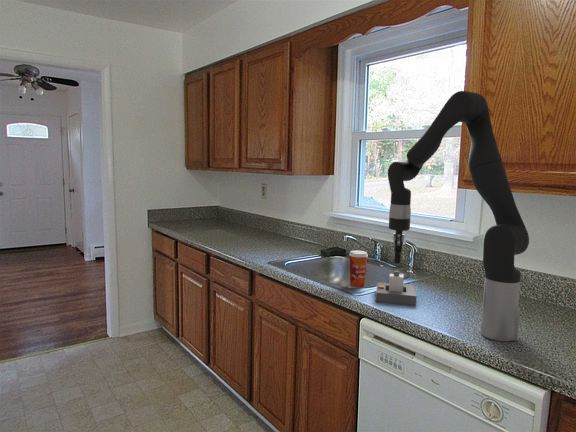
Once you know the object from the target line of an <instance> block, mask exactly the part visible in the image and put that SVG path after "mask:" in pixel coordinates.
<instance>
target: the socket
mask: <svg viewBox="0 0 576 432" xmlns="http://www.w3.org/2000/svg"><path fill="white" fill-rule="evenodd" d="M375 292H376V293H375V302H376V301H378V302H377V303H382V302H385V303H384V304H393V303H395V304H394V305H396V304H397V305H406V306H415V307H416V306H417V292H416V286H415V285H414V284H405V283H403V292H396V291H389V282H379V281H377V283H376V291H375Z"/></svg>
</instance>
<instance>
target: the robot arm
mask: <svg viewBox="0 0 576 432" xmlns="http://www.w3.org/2000/svg"><path fill="white" fill-rule="evenodd" d="M459 123H464V124H465V126H466V129H467V132H468V134H469V138H470V149H469V154H468V162H467V163H468V171H469V174H470V176H471V179H472V182H473V186H474V188H475V190H476V191H477V192H478V195H480V197H481V198H482V199H483V200H484V201H485V203H486V205H488V207H489V208H490V210H491V213H492V214H493V217H494V221H495V225H492V226H490V227H489V228H488V229H487V230H486V232H485V234H484V237H483V245H482V247H483V248H482V249H483V250H482V251H483V253H482V267H483V270H484V273H485V274H484V285H483V295H482V296H483V299H482V308H481V311H482V312H481V321H480V322H481V323H480V334H481V336H483V337H485V338H487V339H489V340H492V341H497V342H513V341H516V342H518V337H519V336H518V335H519V325H520V316H521V315H520V314H521V309H520V307H519V302H520V301H519V298H520V288H521V278H522V273H521V270H519V269H518V268H516V267H515V256H517V255H521V254H523V253H525V252H526V251H527V249H528V247H529V245H530V244H529V243H530V237H529V232H528V230H527V227H526V225H525V222H524V221H523V218H522V216H521V213H520V211H519V209H518V207H517V204H516V201H515V199H514V195H513V192H512V189H511V186H510V182H509V180H508V176H507V175H508V174H507V172H506V169H505V166H504V162H503V160H502V157H501V154H500V150H499V147H498V145H497V140H496V138H495V137H496V136H495V134H494V131H493V127H492V121H491V116H490V110H489V105H488V102H487V100H486V98H485V97H484V96H483V95H482V94H480V93H478V92H473V91H466V90H460V91H457V92H455V93H453V94H452V95H451V96H450V97H449V98H448V100H447V101H446V102H445V104H444V105H443V106H442V108H441V110H440V111H439V113H438V114H437V116H436V117H435V118H434V120H433V121H432V123H431V124H430V125H429V127H428V128H427V129H426V131H425V132H424V133H423V135H421V137H420V138H419V139H418V140H417V141H416V142H415V143H414V144H413V145H412V146H411V147H410V149H408V151H407V153H406V158H407V159H406V161H401V160H400V161H399V160H398V161H393V162H392V163H390V164H389V166H388V168H387V179H388V185H389V189H390V204H389V205H390V207H389V213H388V229H389V230H392V231H395V233H392V234H393V235H392V239H393V248H394V250H393V252H394V256H393V257H394V260H393V262H394V264H397V265H398V264H401V261H402V259H401V257H402V252H403V250H402V249H403V248H404V241H405V234H404V233H403V232H404V231H410V229H411V216H412V215H411V214H412V213H411V212H412V211H411V210H412V209H411V201H412V191H411V190H410V188H408V187H405V184H404V183H405V182H409V181H412V180H414V179H415V178H416V177H417V176H418V175H419V173H420V172H421V170H422V168H423V166H424V165H425V164H426V163H427V162H428V161H429V160H430V159H431V157H433V156H434V155H435V154H436V153H437V151H438V150H439V148H440V146H441V144H442V141H443V139H444V137H445V135H446V134H447V133H448V131H449V130H450V129H451V128H453V127H455V126H456V125H457V124H459Z"/></svg>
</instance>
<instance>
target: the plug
mask: <svg viewBox="0 0 576 432" xmlns="http://www.w3.org/2000/svg"><path fill="white" fill-rule="evenodd" d="M404 279H405V278H404V274H400V271H399V270H394V271H393V273H389V280H388V283H389V291H396V292H403V284H404Z"/></svg>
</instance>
